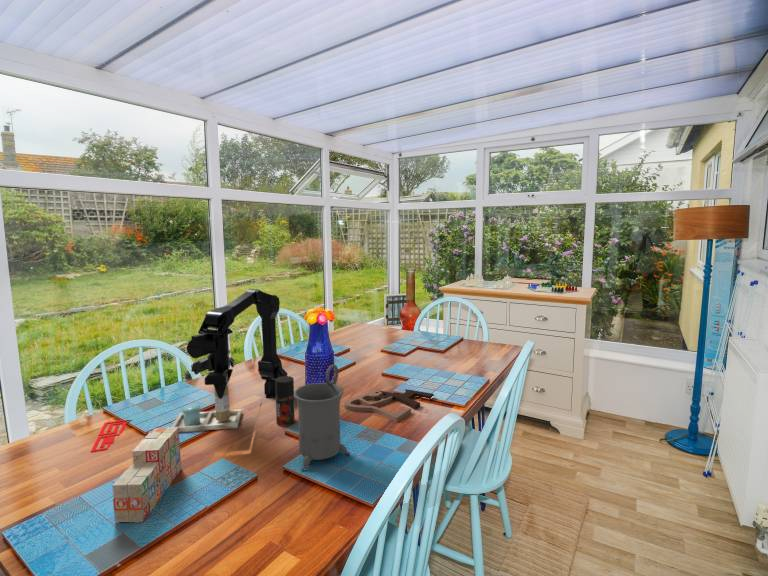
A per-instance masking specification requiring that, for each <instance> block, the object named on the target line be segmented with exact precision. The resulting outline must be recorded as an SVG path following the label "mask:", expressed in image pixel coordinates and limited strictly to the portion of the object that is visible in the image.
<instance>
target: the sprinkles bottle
mask: <svg viewBox="0 0 768 576" xmlns="http://www.w3.org/2000/svg"><path fill="white" fill-rule="evenodd" d="M213 388H214V390H213V391H214V411H216V420H217V421H225V420H228V419H229V418H230V412H229V410H231V409H230V407H231V406H230V393H229V382H228V383H227V386H226V389H225V392H224V395H223V398H222V399H219V398H218V395H217V392H216V390H215V387H214V386H213Z"/></svg>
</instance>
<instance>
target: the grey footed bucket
mask: <svg viewBox="0 0 768 576" xmlns="http://www.w3.org/2000/svg"><path fill="white" fill-rule="evenodd" d="M332 369H334V373H335V374H334V375H332V378H331V380H330V373H331V370H332ZM338 378H339V368H338V365H336V364H330V365H329V367H328V368H327V369H326V371H325V382H316V383H315V382H313V383H308V384H305V385H302V386H299V387H298V388H297V389H294V399H295V400H296V403H297V410H298V414H297V415H298V442H299V443H298V444H299V445H298V447H299V454H300V455H301V456H302V457H304V459H303V465H302V469H303V470H304V469H307V468H308V467H309V464H310V463H311V461H313V460H317V461H318V460H319V461H320V460H327V459H330V458H332V457H334V456H336V455H337V454H338V453H339V452H342V453H343V454H345V455H346V454H349V455H351V453H350V451H348V448H347V446H346V445H344V444H343V443H341V414H340V412H341V411H340V409H341V399H342V396H343V394H344V389H343V387H341V386H340V385H338V384H337V382H338ZM302 469H301V470H302ZM303 470H302V471H303Z"/></svg>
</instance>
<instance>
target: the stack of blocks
mask: <svg viewBox="0 0 768 576" xmlns="http://www.w3.org/2000/svg"><path fill="white" fill-rule="evenodd" d="M131 453H132V455H131V456H132V464H131V465H130V466H128V468H127V469H126V470H125V471H124V472H123V473H122V474H121V475H120V476H119V478H117V480H116V481H115V482H114V483H113V484H112V495H113V499H112V501H113V502H112V503H113V513H114V514H113V515H114V523H115V524H120V523H119V522H135V523H144V522H145V521H146V519H147V518H148V516H149V515H150V513H152V511H153V510H154V508H155V507H156V505H157V504H158V503H159V502H160V500H161V499H162V497H161V496H163V495H164V494H165V493H166V491H167V489H168V488H169V487H170V485H171V484H172V482H174V480H175V479H176V477H177V476H178V475H179V473H180V472H181V470H182V460H181V442H180V432H179V428H178V427H171V426H170V427H168V426H166V427H155V428H153V429H152V430H151V431H150V432H149V433H148V434H147V435H145V437H144V438H143V439H142V440H141V441H140V442H139V443H138V445H136V447H134V448H133V449H132V451H131ZM163 493H164V494H163ZM159 499H160V500H159ZM157 502H158V503H157ZM152 509H153V510H152ZM148 514H149V515H148ZM145 518H146V519H145ZM143 521H144V522H143Z"/></svg>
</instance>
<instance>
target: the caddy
mask: <svg viewBox="0 0 768 576" xmlns="http://www.w3.org/2000/svg"><path fill="white" fill-rule="evenodd" d="M242 410H243V409H242V408H240V409H239V408H238V409H229V412H230V418H229V419H228V420H225V421H217V420H216V410H214V411H213V410H212V411H210V410H209V411H200V424H199V425H193V426H184V412H183V413H179V414H178V415H177V417H176V419H175V420H174V422H173V423H172V424H171V426H170V427H178V428H179V433H188V432H200V431H215V430H226V429H227V430H229V429H237V428H238V426H239V425H240V424H239V423H240V420H241V417H242V415H243V412H242Z"/></svg>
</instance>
